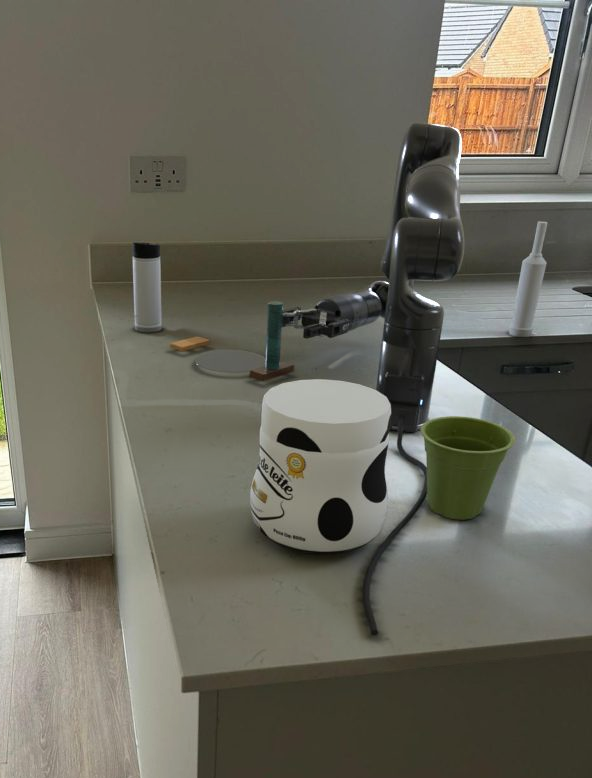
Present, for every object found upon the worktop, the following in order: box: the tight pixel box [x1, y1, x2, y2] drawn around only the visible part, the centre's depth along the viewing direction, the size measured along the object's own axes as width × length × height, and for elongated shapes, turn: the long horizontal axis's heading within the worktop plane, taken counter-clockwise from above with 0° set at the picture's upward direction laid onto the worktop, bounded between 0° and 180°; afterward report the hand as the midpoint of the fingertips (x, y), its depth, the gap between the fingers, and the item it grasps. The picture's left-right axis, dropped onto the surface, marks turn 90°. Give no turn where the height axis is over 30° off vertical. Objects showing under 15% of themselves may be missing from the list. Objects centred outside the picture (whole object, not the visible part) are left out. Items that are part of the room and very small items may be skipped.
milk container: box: [249, 378, 391, 555], centre depth 98 cm, size 17×17×18 cm
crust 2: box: [184, 335, 211, 348], centre depth 171 cm, size 4×4×2 cm
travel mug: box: [132, 241, 163, 334], centre depth 180 cm, size 6×7×20 cm
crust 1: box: [169, 339, 197, 352], centre depth 169 cm, size 4×4×2 cm
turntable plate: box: [194, 349, 266, 373], centre depth 161 cm, size 15×15×1 cm
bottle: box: [508, 221, 548, 338], centre depth 178 cm, size 5×5×25 cm
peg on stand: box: [249, 300, 295, 382], centre depth 150 cm, size 9×4×15 cm, turn 133°
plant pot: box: [420, 415, 516, 521], centre depth 105 cm, size 12×12×11 cm
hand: (288, 328), depth 152 cm, fingers open, 8 cm apart
